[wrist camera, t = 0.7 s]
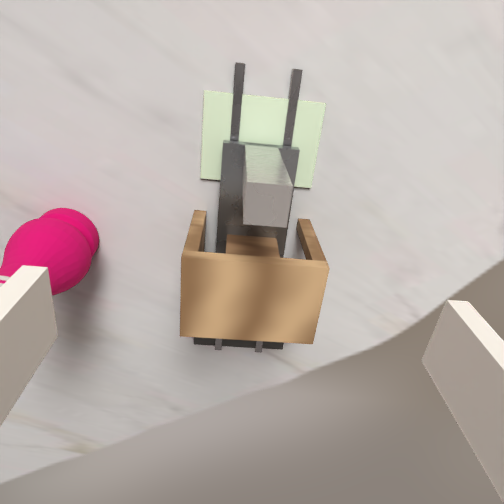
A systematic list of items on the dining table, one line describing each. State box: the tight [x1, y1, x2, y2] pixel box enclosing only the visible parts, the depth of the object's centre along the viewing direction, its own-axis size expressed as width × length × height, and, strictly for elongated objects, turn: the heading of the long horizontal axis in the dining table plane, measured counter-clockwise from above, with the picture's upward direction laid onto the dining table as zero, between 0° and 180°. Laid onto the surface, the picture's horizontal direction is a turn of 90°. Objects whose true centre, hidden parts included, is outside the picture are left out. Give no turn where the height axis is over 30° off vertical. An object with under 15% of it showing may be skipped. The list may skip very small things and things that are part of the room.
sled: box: [216, 140, 300, 258], centre depth 35 cm, size 7×18×12 cm, turn 174°
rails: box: [215, 63, 302, 352], centre depth 41 cm, size 6×32×1 cm, turn 174°
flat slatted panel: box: [194, 337, 284, 349], centre depth 47 cm, size 11×7×1 cm, turn 84°
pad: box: [201, 90, 326, 188], centre depth 37 cm, size 11×8×1 cm
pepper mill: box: [0, 208, 99, 295], centre depth 32 cm, size 7×7×20 cm
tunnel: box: [180, 210, 329, 344], centre depth 38 cm, size 12×8×10 cm, turn 84°
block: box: [226, 234, 280, 258], centre depth 38 cm, size 5×5×5 cm
